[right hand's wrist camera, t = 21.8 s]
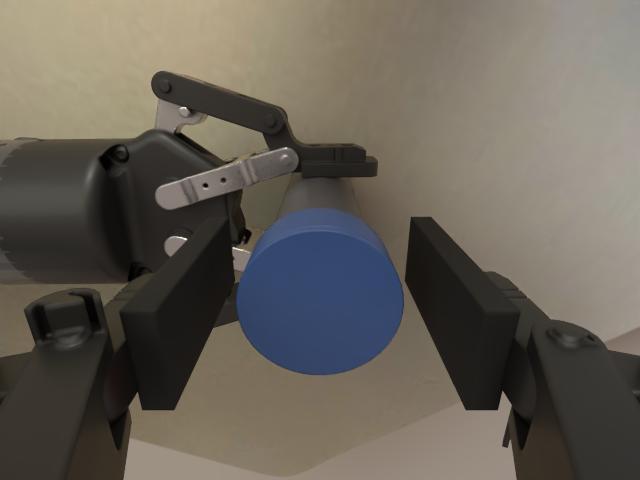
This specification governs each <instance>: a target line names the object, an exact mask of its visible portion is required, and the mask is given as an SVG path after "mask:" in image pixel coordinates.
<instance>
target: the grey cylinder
mask: <svg viewBox="0 0 640 480" xmlns="http://www.w3.org/2000/svg"><path fill="white" fill-rule="evenodd" d="M312 208H328V209H335V210H339V211H343V212H346V213H348V214H351V215H353V216H355V217H357V218H359V219H360V220H362V221H363V222H364V219H363V217H362V214H361V211H360V209H359V206H358V203H357V200H356V198H355V195H354V192H353V190H352V187H351V184H350V181H349V179H348V177H327V178H324V177H316V178H302V175H301V173H293V175H292V177H291V180H290V183H289V185H288V188H287V191H286V194H285V196H284V199H283V202H282V204H281V207H280V210H279V213H278V215H277V218H276V221H278V220H279V219H281V218H283V217H285V216H287V215H289V214H291V213H294V212H297V211H301V210H305V209H312ZM276 221H275V222H276Z"/></svg>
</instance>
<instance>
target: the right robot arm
mask: <svg viewBox="0 0 640 480" xmlns="http://www.w3.org/2000/svg"><path fill="white" fill-rule="evenodd" d="M234 282H235V274H234V263H233V253H232V243H231V232H230V222H229V217H208V219H207V220H206V221H205V222H204V223H203V224H202V225H201V226H200V227H199V228H198V229H197V230H196V231H195V232H194V233H193V234H192V235H191V236H190V237H189V238H188V239H187V241H186V242H185V243H184V244H183V245H182V246H181V247H180V248H179V249H178V250H177V251H176V252H175V253H174V254H173V255H172V256H171V257H170V258H169V259H168V260H167V261H166V263H165V264H164V265H163V266H162V267H161V268H160V269H159V270H158V271H157V272H156V273H145V274H143V275H142V276H140V277H138V278H136V279H134V280H132V281H131V282H130V283H129V284H128V285H127V286H125V287H124V288H123V289H122V292H119V293H118V294H117V295H116V296H115V297H114V299H113V300H111V301H110V302H109V303H108V304H107V305H106V306H105V307H103V305H102V301H101V297H100V293H99V292H98V291H96V290H94V289H89V288H75V289H68V290H63V291H59V292H55V293H52V294H50V295H47V296H44V297H42V298H40V299H38V300H36V301H34V302H32V303H31V304H30V305H29V306H27V307H26V308H25V309H24V312H25V315H26V318H27V321H28V324H29V327H30V330H31V333H32V335H33V338H34V341H35V344H36V345H35V347H34V348H33V350H32V352H28V353H22V354H17V355H12V356H6V357H1V358H0V480H123V478H124V471H125V464H126V457H127V450H128V443H129V437H130V430H131V423H132V422H131V415H130V411H129V407H128V406H129V405H130V403H131V401H132V400H133V398H134V397H135V395H136V393H137V392H138V394H139V399H140V403H141V407H142V410H174V409H175V407H176V405H177V403H178V401H179V399H180V397H181V395H182V392H183V390H184V388H185V386H186V384H187V382H188V380H189V378H190V375H191V373H192V371H193V369H194V367H195V365H196V363H197V361H198V358H199V356H200V354H201V352H202V350H203V348H204V346H205V344H206V342H207V339H208V337H209V335H210V333H211V331H212V329H213V327H214V325H215V322H216V320H217V318H218V316H219V314H220V312H221V310H222V308H223V305H224V303H225V301H226V299H227V297H228V295H229V293H230V291H231V288H232V286H233V284H234ZM405 282H406V284H407V286H408V288H409V291H410V293H411V295H412V297H413V299H414V301H415V303H416V305H417V308H418V310H419V312H420V314H421V316H422V318H423V320H424V322H425V325H426V327H427V329H428V331H429V333H430V335H431V337H432V339H433V342H434V344H435V346H436V348H437V350H438V352H439V354H440V356H441V358H442V361H443V363H444V365H445V367H446V369H447V371H448V373H449V375H450V378H451V380H452V382H453V384H454V386H455V388H456V390H457V392H458V395H459V397H460V399H461V401H462V403H463V405H464V407H465V409H466V410H498V407H499V403H500V399H501V394H502V390H503V392H504V393H505V395H506V396H507V398H508V400H509V401H510V403H511V404H512V407H511V411H510V415H509V419H508V423H507V427H506V431H505V435H504V439H503V445H502V446H503V447H508V444H509V441H510V439H511V443H512V449H513V456H514V463H515V470H516V477H517V480H640V356H638V355H632V354H627V353H622V352H616V351H611V350H608V349H607V348H606V346H605V344H604V343H603V342H602V341H601V340H600V339H599V338H598V336H596V335H594V334H593V333H591V332H590V331H588V330H587V329H584V328H582V327H579V326H577V325H575V324H572V323H568V322H564V321H560V320H551V319H550V318H549V317H548V316H547V315H546V314H545V313H544V312H543V311H542V310H540V309H539V308H538V307H537V306H536V305H535V304H534V303H533V302H532V301H531V300H530V299H527V296H526V295H525V294H524V293H523V292H521V291H519V289H518V288H517V287H516V286H515V285H514V284H513V283H512V282H511V281H510V280H509V279H507V278H505V277H503V276H501V275H499V274H497V273H495V272H483V271H482V270H481V269H480V268H479V267H478V266H477V265H476V264H475V263H474V261H473V260H472V259H471V258H470V257H469V256H468V255H467V254H466V253H465V252H464V251H463V250H462V249H461V248H460V247H459V246H458V245H457V244H456V243H455V242H454V241H453V239H452V238H451V237H450V236H449V235H448V234H447V233H446V232H445V231H444V230H443V229H442V228H441V227H440V226H439V225H438V224H437V223H436V222H435V221H434V220H433V219H432V217H411V222H410V232H409V243H408V253H407V263H406V274H405Z"/></svg>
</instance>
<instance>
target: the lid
mask: <svg viewBox="0 0 640 480" xmlns="http://www.w3.org/2000/svg"><path fill="white" fill-rule="evenodd" d="M403 306H404V299H403V290H402V285H401V282H400V280H399V277H398V274H397V272H396V270H395V268H394V266H393V263H392V261H391V259H390V257H389V254H388V252H387V250H386V248H385V246H384V244H383V242H382V240H381V239H380V238H379V236H378V235H377V233H376V232H375V231H374V230H373V229H372V228H371V227H370V226H369V225H367V224H366V223H365V222H363V221H362V220H360V219H359V218H357V217H355V216H353V215H351V214H348V213H346V212H343V211H339V210H335V209H328V208H312V209H305V210H301V211H297V212H294V213H291V214H289V215H287V216H285V217H283V218H281V219H279V220H278V221H276V222H275V223H274V224H272V225H271V226H270V227H269V228H268V229H267V230H266V231H265V232H264V233H263V234H262V236H261V237H260V238H259V240H258V242H257V243H256V245H255V247H254V249H253V251H252V254H251V256H250V258H249V260H248V263H247V265H246V267H245V270H244V272H243V274H242V276H241V279H240V282H239V285H238V289H237V295H236V309H237V315H238V319H239V323H240V325H241V328H242V330H243V332H244V334H245V336H246V337H247V339H248V340H249V342H250V343H251V344H252V346H253V347H254V348H255V349H256V350H257V351H258V352H259V353H260V354H261V355H263V356H264V357H265V358H267V359H268V360H270V361H271V362H273V363H275V364H276V365H278V366H281V367H283V368H285V369H288V370H291V371H294V372H298V373H303V374H310V375H330V374H337V373H342V372H346V371H349V370H352V369H355V368H357V367H359V366H361V365H363V364H365V363H367V362H368V361H370V360H372V359H373V358H374V357H376V356H377V355H378V354H379V353H380V352H381V351H383V350H384V349H385V348H386V346H387V345H388V344H389V343H390V341H391V340H392V338H393V337H394V335H395V333H396V332H397V329H398V327H399V325H400V322H401V318H402V314H403Z"/></svg>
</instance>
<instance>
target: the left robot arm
mask: <svg viewBox="0 0 640 480" xmlns="http://www.w3.org/2000/svg"><path fill="white" fill-rule="evenodd" d="M151 86H152V90H153V92H154V94H155V95H156V96H157V97H158V98H159V102H158V109H157V116H156V122H155V129H151V130H148V131H146V132H144V133H143V134H141V135H140V136H138V137H136V138H132V139H52V140H41V139H37V138H17V139H14V140H0V284H112V283H130V282H131V281H132V280H134V279H136V278H138V277H140V276H142V275H143V274H145V273H156V272H157V271H158V270H159V269H160V268H161V267H162V266H163V265H164V264H165V263H166V261H167V260H168V259H169V258H170V257H171V256H172V255H173V254H174V253H175V252H176V251H177V250H178V249H179V248H180V247H181V246H182V245H183V244H184V243H185V242H186V241H187V239H188V238H189V237H190V236H191V235H192V234H193V233H194V232H195V231H196V230H197V229H198V228H199V227H200V226H201V225H202V224H203V223H204V222H205V221H206V220H207V219H208V217H229V222H230V232H231V243H232V253H233V263H234V270H237V271H241V272H244V270H245V267H246V265H247V263H248V260H249V258H250V256H251V254H252V251H253V249H254V247H255V245H256V243H257V242H258V240H259V238H260V237H261V236H262V234H263V233H264V232H265V231H264V230H261V229H258V228H254V227H250V226H246V224H245V218H244V215H243V212H242V210H241V207H240V204H241V198H242V193H243V191H242V188H245V187H248V186H251V185H253V184H255V183H257V182H260V181H264V180H267V179H271V178H274V177H277V176H281V175H284V174H288V173H301V175H302V178H316V177H324V178H327V177H374V176H377V167H378V161H377V160H376V159H375V158H374V157H372V156H366V150H365V149H364V148H363V147H361V146H358V145H356V144H353V143H348V144H304V143H301V142H299V141H298V140H297V139H296V138H295V137H294V135H293V133H292V130H291V127H290V125H289V122H288V116H287V113H286V111H285V110H284V109H283V108H281V107H279V106H276V105H273V104H270V103H267V102H264V101H261V100H258V99H255V98H252V97H249V96H246V95H243V94H240V93H237V92H234V91H231V90H228V89H225V88H222V87H219V86H216V85H213V84H210V83H207V82H204V81H201V80H198V79H195V78H192V77H189V76H186V75H182V74H177V73H172V72H166V71H160V72H158V73H156V74H155V75H154V76H153V78H152V81H151ZM208 115H210V116H213V117H216V118H219V119H222V120H225V121H228V122H231V123H234V124H237V125H240V126H243V127H246V128H249V129H252V130H255V131H259V132H262V133H263V136H264V138H265V141H266V143H267V145H268V148H266V149H263V150H259V151H255V152H250V153H247V154H244V155H240V156H237V157H234V158H230V159H227V160H224V161H223V160H221V159H220V158H218V157H217V156H215V155H214V154H212V153H211V152H209V151H208V150H206V149H205V148H203V147H202V146H200V145H199V144H197V143H196V142H194V141H193V140H191V139H190V138H188V137H187V136H185V135H184V134H182V133H181V129H182V127H183V126H184V125H186V124H188V125H194V124H200V123H202V122H204V121H205V120H206V119H207V116H208ZM244 236H245V237H244ZM238 285H239V282H238V283H234V284H233V286H232V288H231V291H230V293H229V295H228V297H227V299H226V301H225V303H224V305H223V308H222V310H221V312H220V314H219V316H218V318H217V320H216V322H215V325H214V327H213V328H215V327H218V326H222V325H225V324H228V323H232V322H235V321H238V320H239V319H238V315H237V309H236V295H237V289H238Z"/></svg>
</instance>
